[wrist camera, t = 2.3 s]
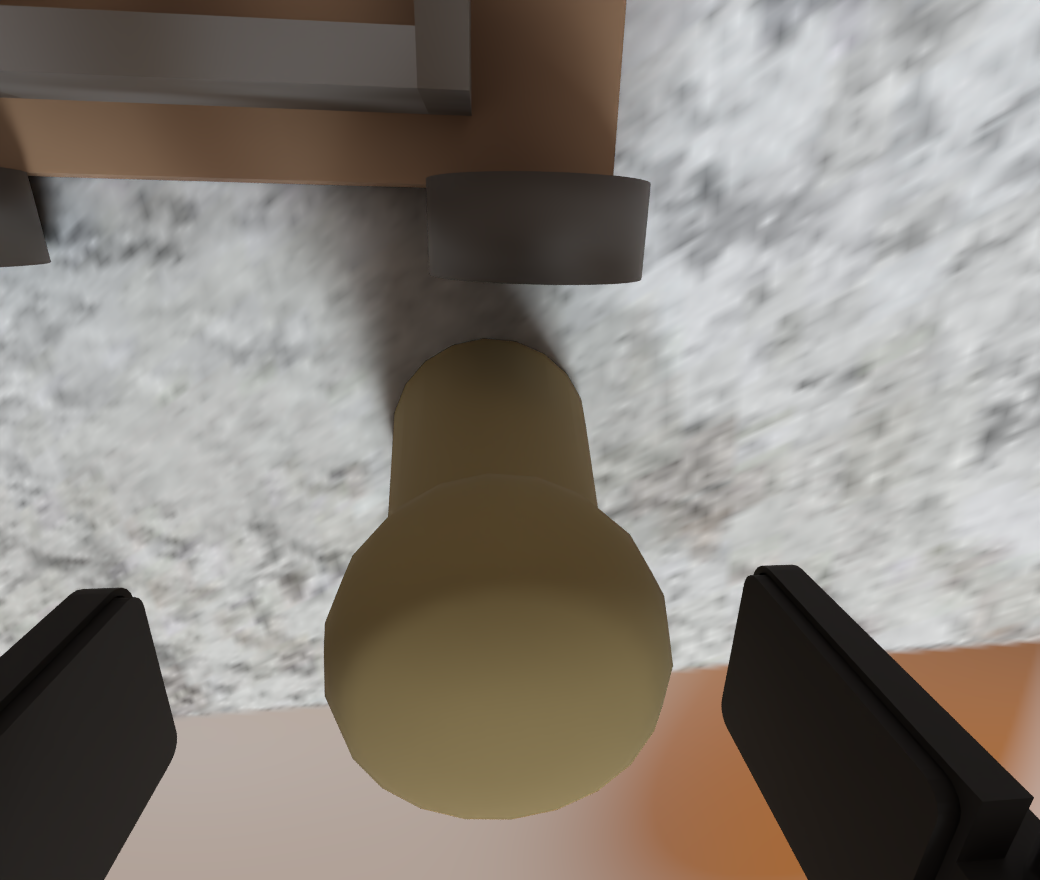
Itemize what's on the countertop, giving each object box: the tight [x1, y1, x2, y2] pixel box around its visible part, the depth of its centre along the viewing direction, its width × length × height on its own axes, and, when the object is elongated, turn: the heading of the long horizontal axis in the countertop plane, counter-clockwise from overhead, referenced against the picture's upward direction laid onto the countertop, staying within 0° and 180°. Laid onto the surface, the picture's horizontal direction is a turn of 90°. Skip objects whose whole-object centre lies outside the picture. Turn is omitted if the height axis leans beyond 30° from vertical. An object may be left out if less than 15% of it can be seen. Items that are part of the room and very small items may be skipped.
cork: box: [324, 338, 673, 819], centre depth 12 cm, size 6×6×11 cm
